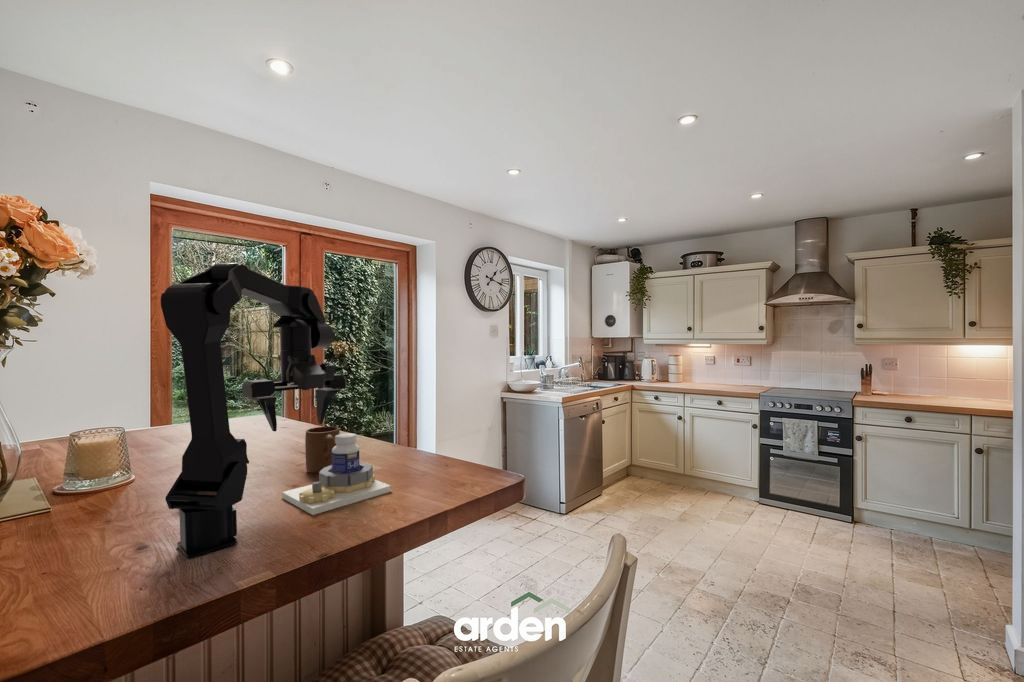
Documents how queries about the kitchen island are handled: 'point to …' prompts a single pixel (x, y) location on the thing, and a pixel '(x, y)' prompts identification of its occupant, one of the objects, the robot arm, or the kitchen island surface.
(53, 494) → the kitchen island surface
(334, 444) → the mug
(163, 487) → the kitchen island surface
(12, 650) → the kitchen island surface
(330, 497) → the gear board
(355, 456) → the pill bottle
